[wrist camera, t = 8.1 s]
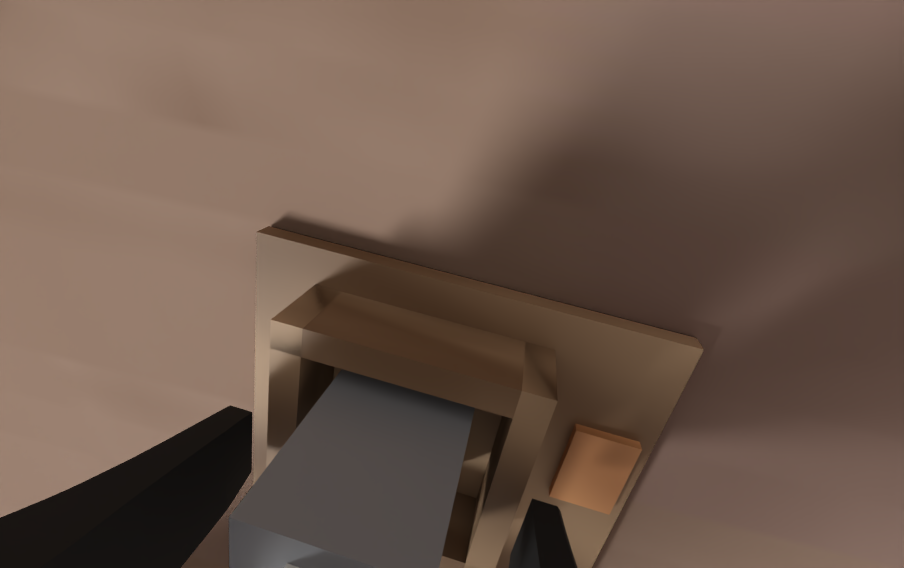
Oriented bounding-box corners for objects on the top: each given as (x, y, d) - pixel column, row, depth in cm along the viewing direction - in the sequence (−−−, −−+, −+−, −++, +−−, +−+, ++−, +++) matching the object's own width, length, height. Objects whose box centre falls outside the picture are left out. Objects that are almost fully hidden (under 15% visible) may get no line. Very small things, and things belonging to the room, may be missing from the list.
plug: (457, 462, 14) (386, 758, 7) (352, 430, 14) (200, 687, 8) (483, 372, 12) (421, 644, 6) (365, 338, 13) (192, 564, 6)
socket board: (518, 693, 19) (514, 786, 16) (259, 602, 20) (217, 675, 17) (696, 338, 11) (740, 405, 9) (269, 226, 12) (198, 257, 10)
